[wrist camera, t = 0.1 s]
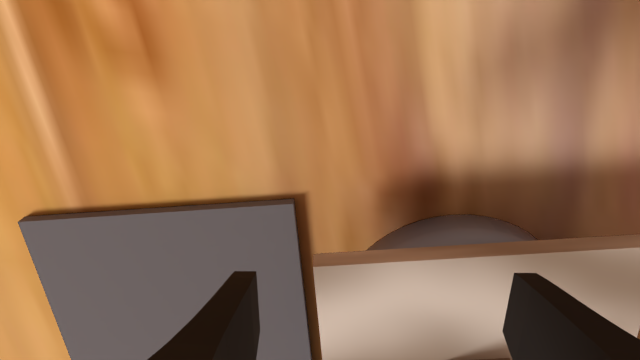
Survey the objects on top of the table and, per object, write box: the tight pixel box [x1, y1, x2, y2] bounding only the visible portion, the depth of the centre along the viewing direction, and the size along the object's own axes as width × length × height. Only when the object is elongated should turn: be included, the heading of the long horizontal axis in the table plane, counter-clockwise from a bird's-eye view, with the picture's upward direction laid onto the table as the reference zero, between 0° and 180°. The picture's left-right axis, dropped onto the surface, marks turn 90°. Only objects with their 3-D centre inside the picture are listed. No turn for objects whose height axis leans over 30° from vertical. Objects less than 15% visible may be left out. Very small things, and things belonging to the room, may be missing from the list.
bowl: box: [366, 215, 538, 251], centre depth 23 cm, size 13×13×4 cm
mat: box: [18, 199, 312, 360], centre depth 25 cm, size 16×14×1 cm
